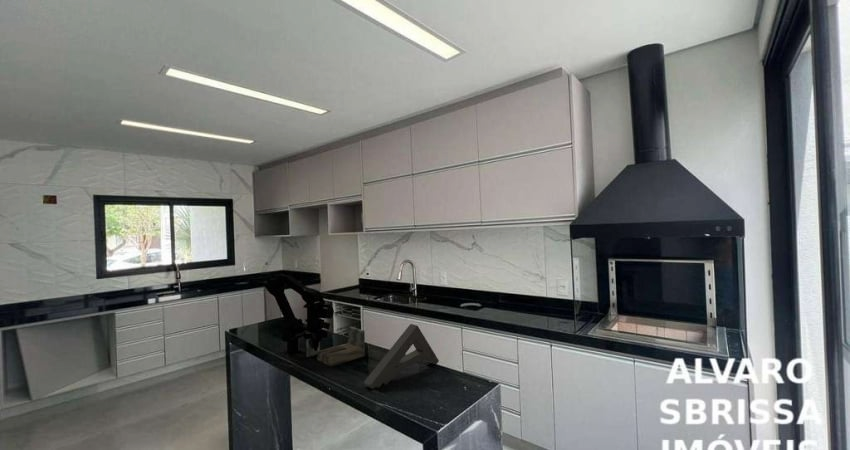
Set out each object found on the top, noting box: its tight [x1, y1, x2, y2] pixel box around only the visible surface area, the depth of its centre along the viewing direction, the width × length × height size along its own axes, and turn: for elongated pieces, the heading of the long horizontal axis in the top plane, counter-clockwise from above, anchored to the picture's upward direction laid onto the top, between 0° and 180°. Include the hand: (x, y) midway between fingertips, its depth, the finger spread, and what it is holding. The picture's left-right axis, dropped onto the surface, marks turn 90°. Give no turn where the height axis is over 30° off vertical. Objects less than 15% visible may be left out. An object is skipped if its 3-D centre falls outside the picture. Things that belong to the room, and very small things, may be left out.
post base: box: [316, 325, 366, 368], centre depth 161 cm, size 12×18×12 cm, turn 135°
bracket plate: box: [305, 338, 321, 358], centre depth 166 cm, size 2×6×8 cm, turn 135°
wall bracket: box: [362, 323, 440, 390], centre depth 141 cm, size 22×4×30 cm
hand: (313, 349), depth 166 cm, fingers open, 5 cm apart
